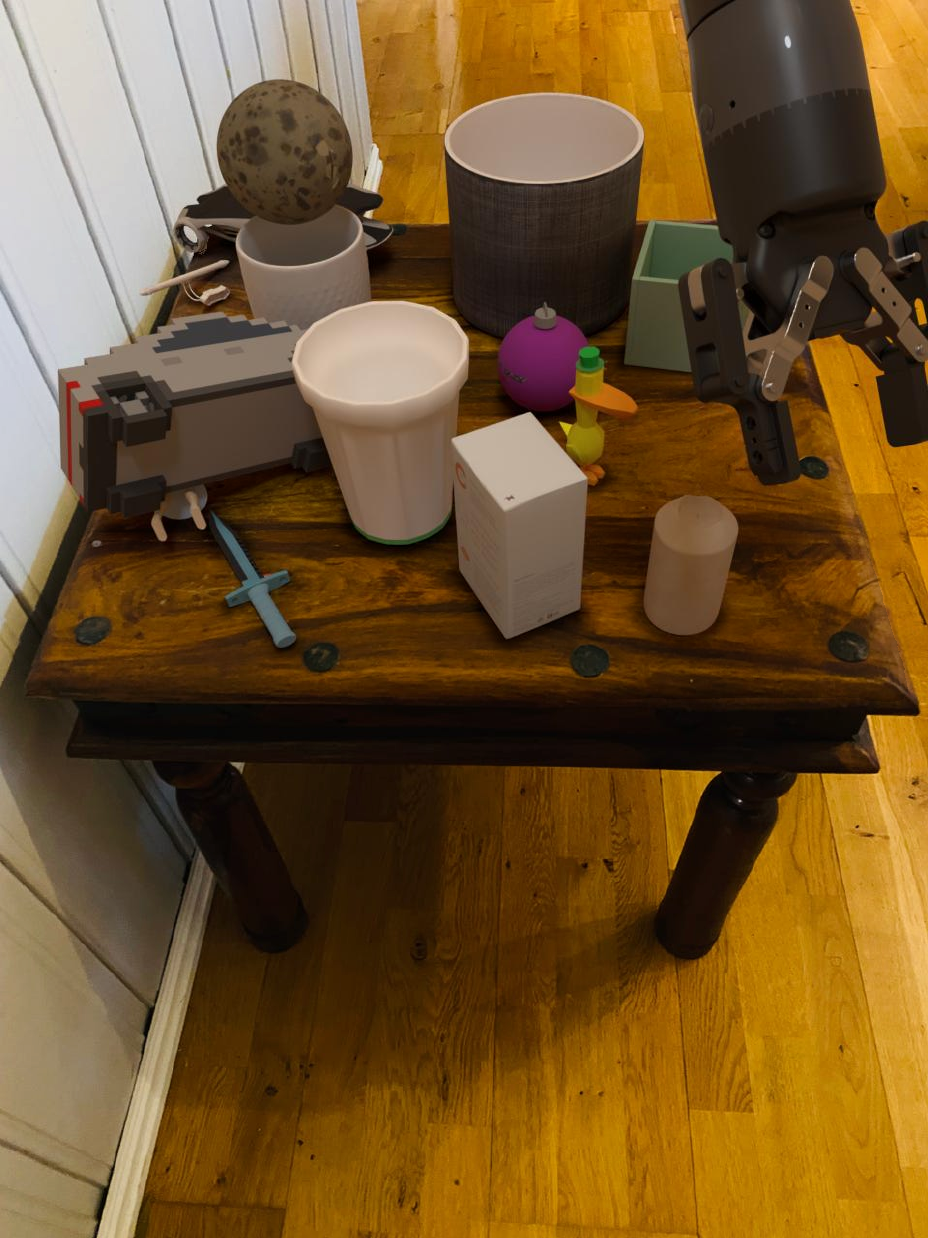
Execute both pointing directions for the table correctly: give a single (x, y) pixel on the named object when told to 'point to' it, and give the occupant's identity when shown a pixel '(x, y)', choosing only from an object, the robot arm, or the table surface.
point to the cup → (387, 411)
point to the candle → (689, 564)
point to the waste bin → (668, 292)
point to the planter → (542, 209)
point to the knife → (252, 582)
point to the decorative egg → (284, 152)
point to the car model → (233, 215)
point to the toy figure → (592, 412)
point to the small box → (519, 522)
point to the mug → (304, 267)
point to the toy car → (184, 412)
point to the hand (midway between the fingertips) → (848, 463)
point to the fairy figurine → (181, 508)
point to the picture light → (206, 298)
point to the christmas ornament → (541, 360)
